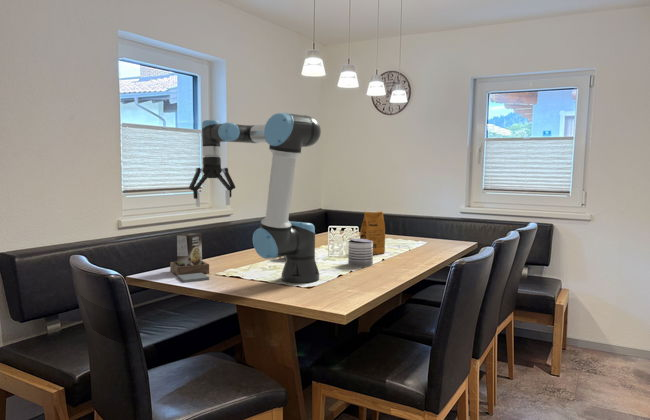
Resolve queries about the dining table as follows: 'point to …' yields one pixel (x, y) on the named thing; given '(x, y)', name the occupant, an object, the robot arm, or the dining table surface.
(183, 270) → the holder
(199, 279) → the pad
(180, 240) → the coffee box
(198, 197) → the robot arm
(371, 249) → the can
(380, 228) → the coffee package
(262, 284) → the dining table surface
